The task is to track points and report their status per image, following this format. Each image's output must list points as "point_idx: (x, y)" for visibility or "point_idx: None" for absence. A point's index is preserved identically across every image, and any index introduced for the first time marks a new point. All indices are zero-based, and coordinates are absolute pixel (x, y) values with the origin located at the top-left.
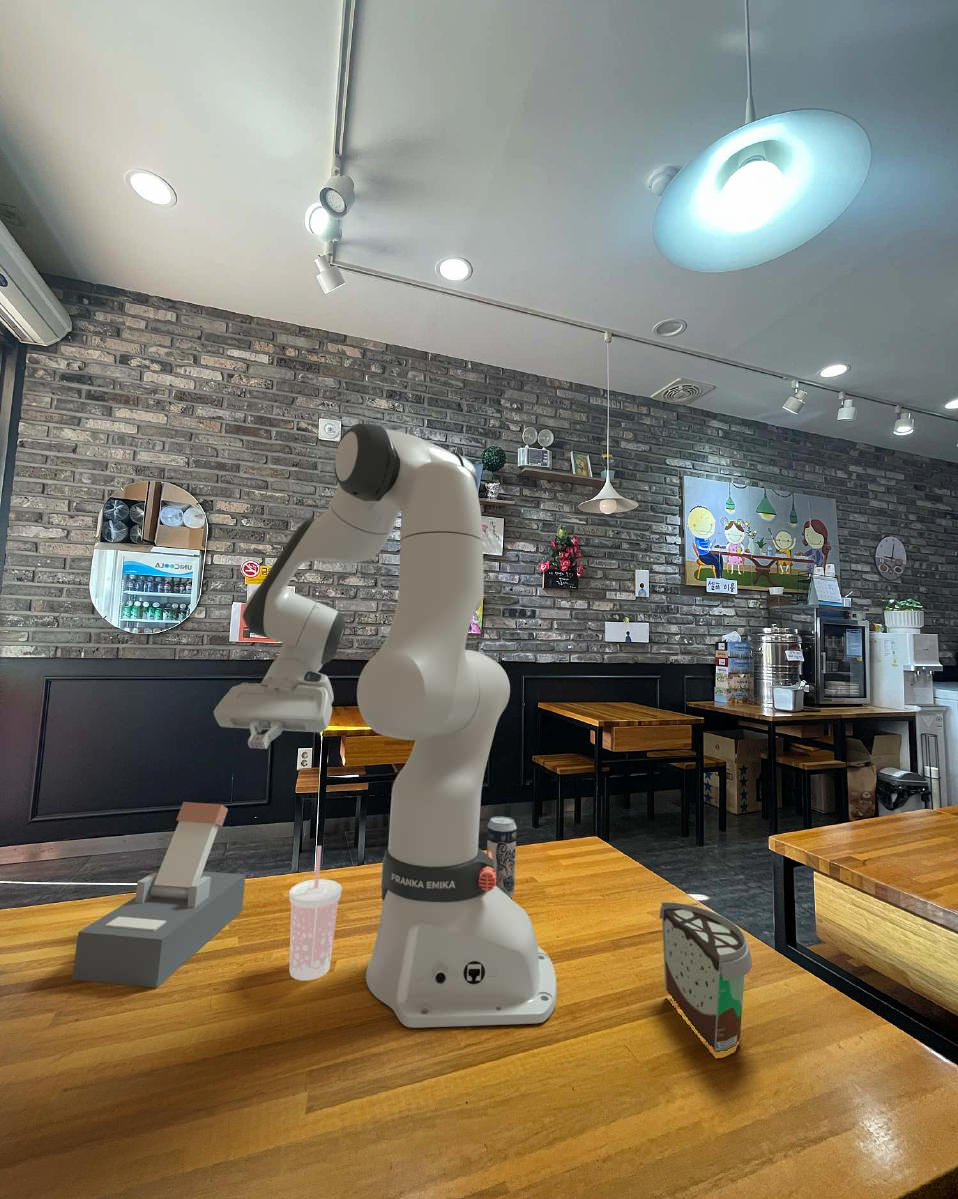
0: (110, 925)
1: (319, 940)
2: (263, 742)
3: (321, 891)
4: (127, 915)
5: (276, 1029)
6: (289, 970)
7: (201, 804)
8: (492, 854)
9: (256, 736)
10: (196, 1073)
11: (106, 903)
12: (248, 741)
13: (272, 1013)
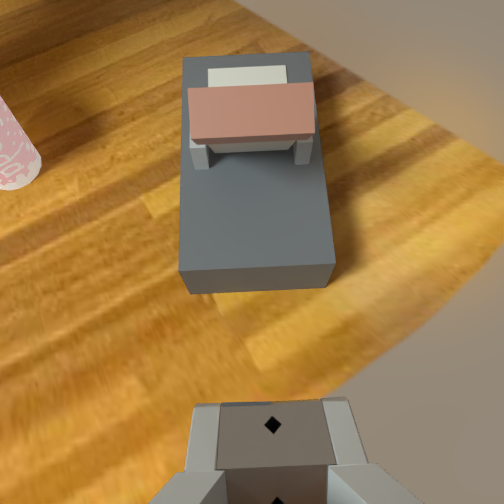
0: (278, 66)
1: None
2: (202, 405)
3: None
4: None
5: (24, 74)
6: (40, 156)
7: (252, 85)
8: None
9: (296, 440)
10: (78, 24)
11: (457, 268)
12: (342, 398)
13: (36, 92)
